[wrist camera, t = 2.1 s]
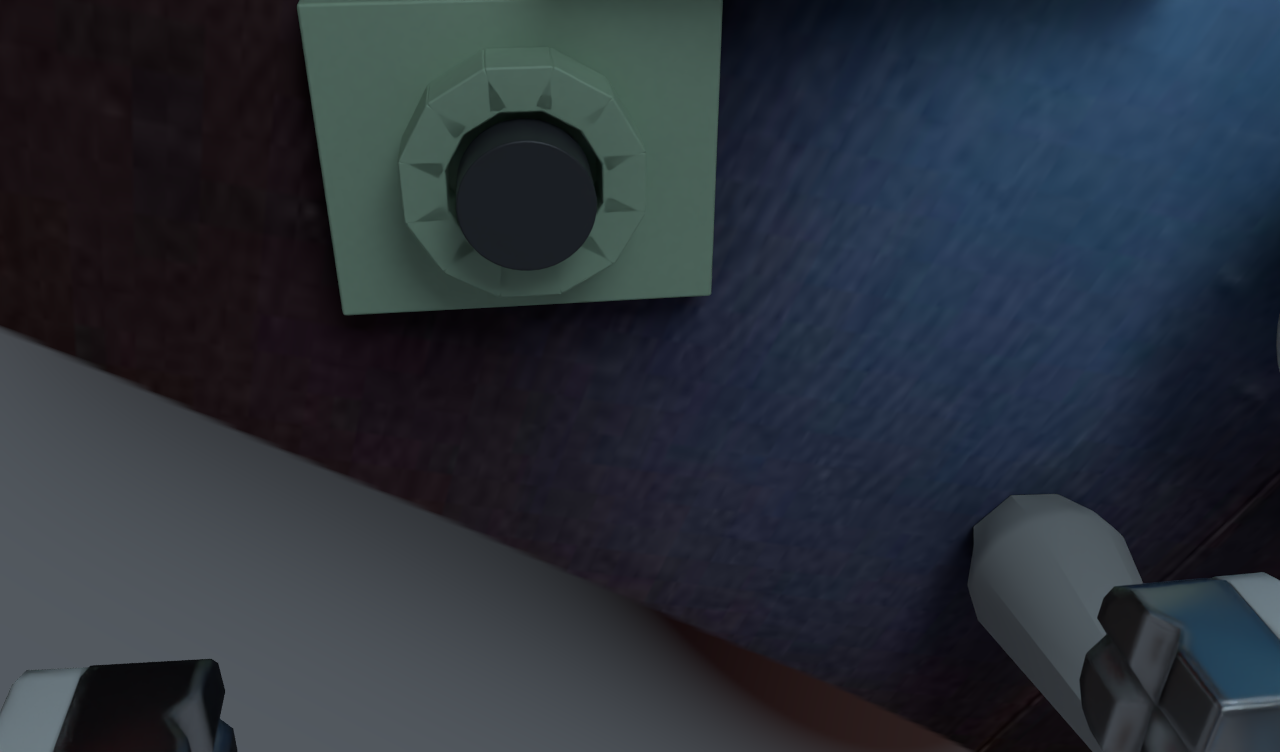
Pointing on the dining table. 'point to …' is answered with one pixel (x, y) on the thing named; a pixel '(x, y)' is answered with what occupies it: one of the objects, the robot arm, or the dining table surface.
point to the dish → (1278, 343)
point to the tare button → (525, 195)
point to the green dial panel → (503, 90)
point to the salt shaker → (1047, 590)
